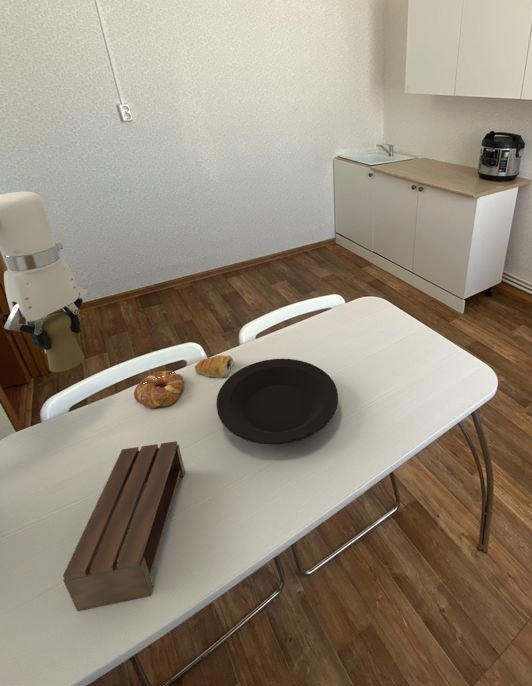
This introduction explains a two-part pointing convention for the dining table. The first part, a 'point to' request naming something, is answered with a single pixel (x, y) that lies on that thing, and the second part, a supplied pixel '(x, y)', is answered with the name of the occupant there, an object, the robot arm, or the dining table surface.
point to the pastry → (215, 366)
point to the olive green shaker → (61, 343)
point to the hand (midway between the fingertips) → (59, 338)
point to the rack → (125, 528)
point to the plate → (277, 401)
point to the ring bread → (159, 389)
